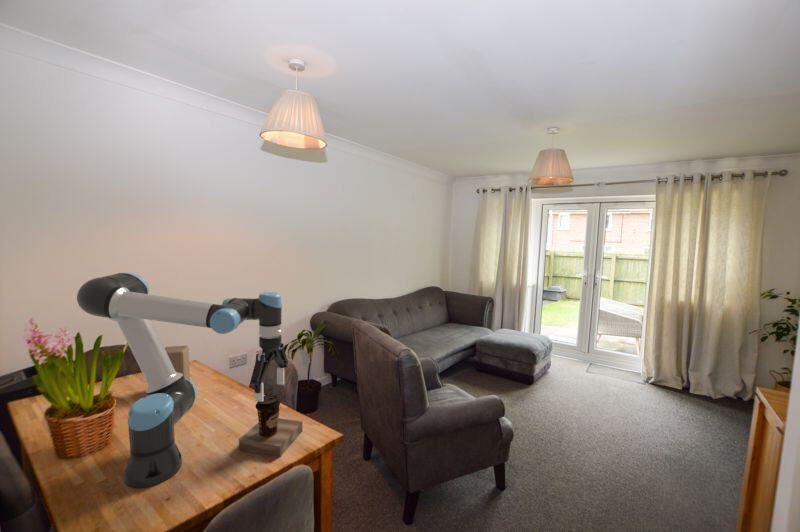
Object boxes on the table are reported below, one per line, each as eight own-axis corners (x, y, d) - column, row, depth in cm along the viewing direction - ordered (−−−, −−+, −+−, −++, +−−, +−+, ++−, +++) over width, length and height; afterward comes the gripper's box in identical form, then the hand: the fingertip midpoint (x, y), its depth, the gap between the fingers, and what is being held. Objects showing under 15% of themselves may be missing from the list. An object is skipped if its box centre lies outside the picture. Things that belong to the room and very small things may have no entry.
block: (167, 385, 173) (165, 346, 171) (190, 383, 176) (188, 344, 174) (160, 395, 163) (158, 353, 161) (184, 392, 166) (183, 351, 164)
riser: (280, 457, 122) (280, 446, 121) (239, 449, 125) (238, 439, 125) (302, 431, 137) (302, 421, 137) (265, 425, 141) (265, 416, 140)
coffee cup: (285, 427, 133) (284, 394, 131) (275, 440, 124) (274, 405, 123) (262, 425, 133) (262, 392, 132) (251, 438, 125) (250, 403, 124)
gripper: (258, 347, 114) (259, 410, 116) (297, 327, 138) (296, 379, 140) (238, 345, 115) (239, 407, 118) (279, 325, 140) (279, 377, 142)
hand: (270, 392), depth 129 cm, fingers open, 13 cm apart
